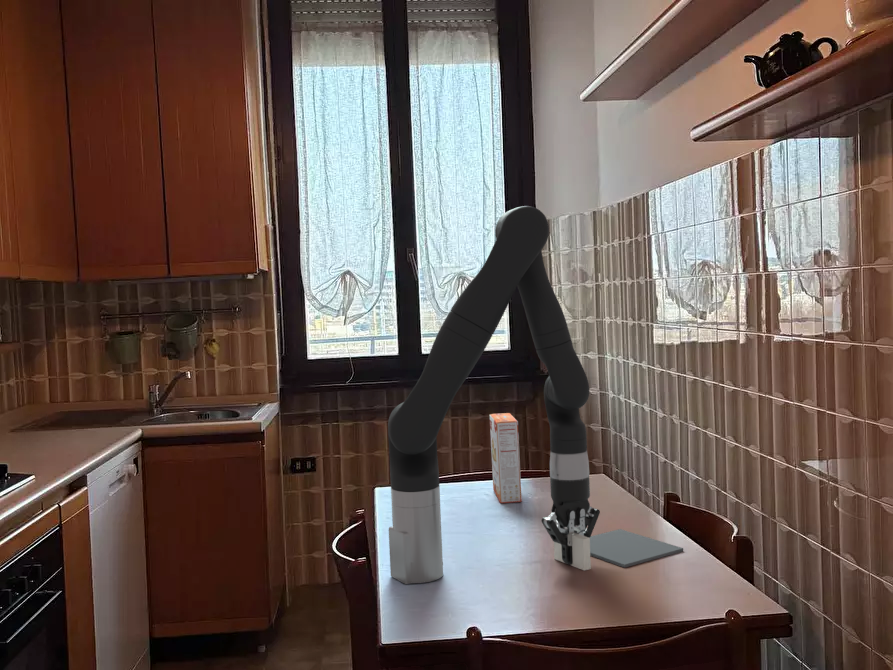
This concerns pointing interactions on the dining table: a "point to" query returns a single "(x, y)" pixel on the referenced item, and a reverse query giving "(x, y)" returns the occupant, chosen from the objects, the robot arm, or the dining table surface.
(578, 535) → the card box
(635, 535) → the mat
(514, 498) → the cracker box
